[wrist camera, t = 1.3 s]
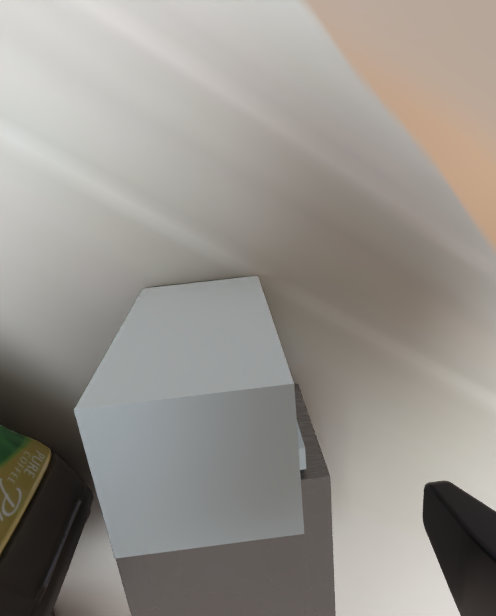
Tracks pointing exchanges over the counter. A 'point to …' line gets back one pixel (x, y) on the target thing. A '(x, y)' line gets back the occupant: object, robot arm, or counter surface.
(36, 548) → the coffee jar
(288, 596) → the housing
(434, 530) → the robot arm
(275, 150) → the counter surface
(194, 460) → the end cover
